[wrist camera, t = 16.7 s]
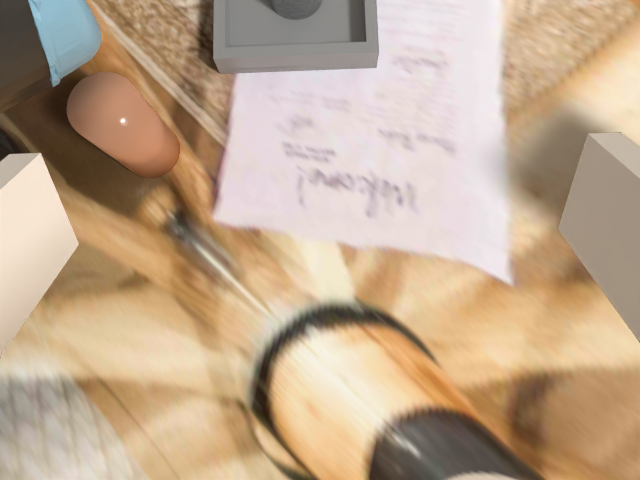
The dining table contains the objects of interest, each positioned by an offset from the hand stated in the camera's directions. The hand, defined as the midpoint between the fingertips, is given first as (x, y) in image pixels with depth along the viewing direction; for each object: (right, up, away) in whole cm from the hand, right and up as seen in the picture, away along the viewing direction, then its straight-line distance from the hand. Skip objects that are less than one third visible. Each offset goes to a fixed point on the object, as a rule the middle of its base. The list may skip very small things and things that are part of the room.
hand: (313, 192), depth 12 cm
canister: (-15, +7, +30) cm, 34 cm away
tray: (-2, +21, +31) cm, 38 cm away
